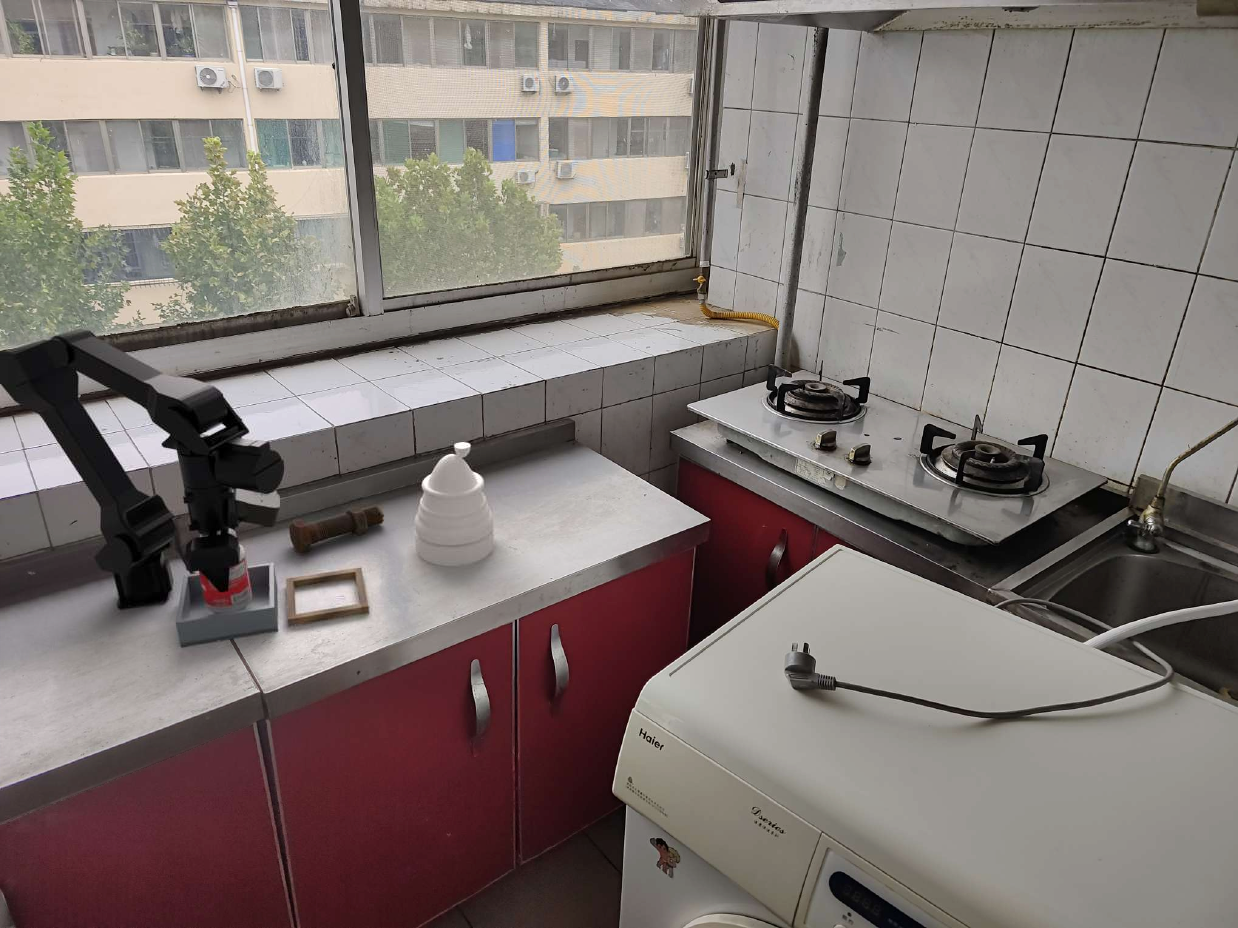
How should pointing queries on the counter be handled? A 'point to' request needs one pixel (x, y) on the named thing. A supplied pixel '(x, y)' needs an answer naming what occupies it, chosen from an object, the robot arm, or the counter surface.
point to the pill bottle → (237, 590)
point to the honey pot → (453, 514)
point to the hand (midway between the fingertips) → (225, 578)
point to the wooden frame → (327, 613)
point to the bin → (212, 627)
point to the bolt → (333, 527)
